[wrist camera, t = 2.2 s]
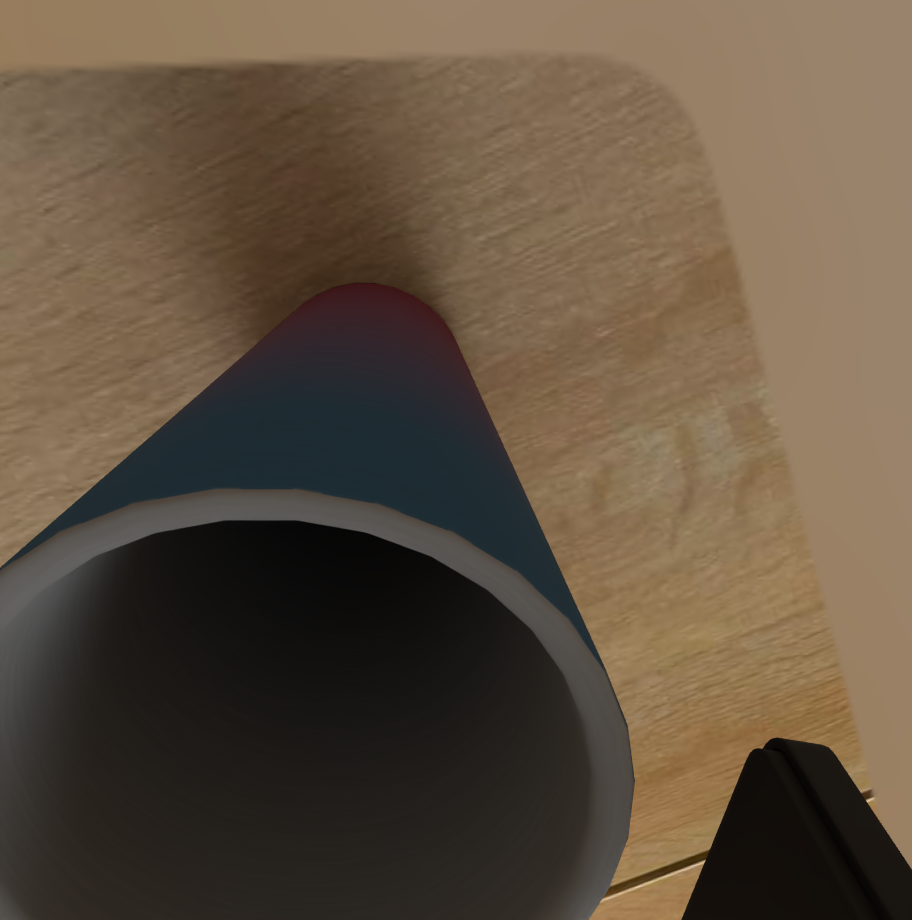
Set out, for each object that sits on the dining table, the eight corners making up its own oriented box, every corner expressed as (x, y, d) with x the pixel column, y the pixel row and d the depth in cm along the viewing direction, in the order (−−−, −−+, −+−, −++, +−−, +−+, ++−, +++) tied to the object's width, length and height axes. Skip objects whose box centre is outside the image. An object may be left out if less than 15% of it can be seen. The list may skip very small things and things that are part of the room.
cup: (506, 489, 23) (637, 1031, 9) (257, 511, 23) (12, 1091, 9) (490, 233, 21) (635, 451, 7) (211, 258, 21) (-217, 528, 7)
